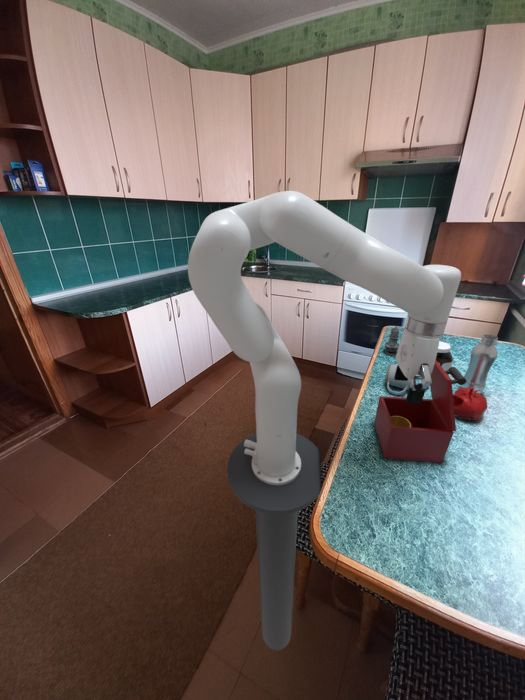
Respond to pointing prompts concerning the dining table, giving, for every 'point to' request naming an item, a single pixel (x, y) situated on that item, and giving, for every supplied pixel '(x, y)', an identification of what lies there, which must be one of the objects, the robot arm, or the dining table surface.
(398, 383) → the ceramic mug
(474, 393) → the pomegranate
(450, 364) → the spread jar
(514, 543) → the dining table surface
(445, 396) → the lid
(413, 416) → the red lidded box
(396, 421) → the cup
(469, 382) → the plastic bottle
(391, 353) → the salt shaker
